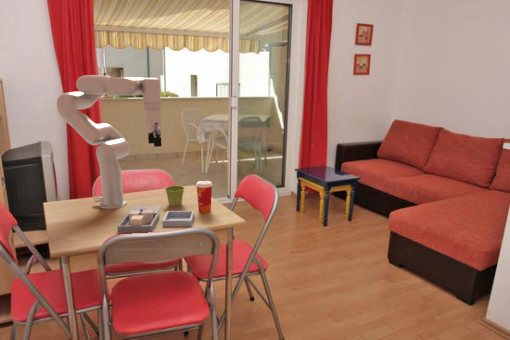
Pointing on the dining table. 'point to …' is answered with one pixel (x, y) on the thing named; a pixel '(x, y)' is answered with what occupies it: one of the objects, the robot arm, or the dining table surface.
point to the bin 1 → (147, 227)
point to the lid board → (144, 208)
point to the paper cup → (204, 196)
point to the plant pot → (175, 195)
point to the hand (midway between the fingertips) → (154, 144)
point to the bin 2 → (178, 218)
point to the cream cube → (137, 220)
